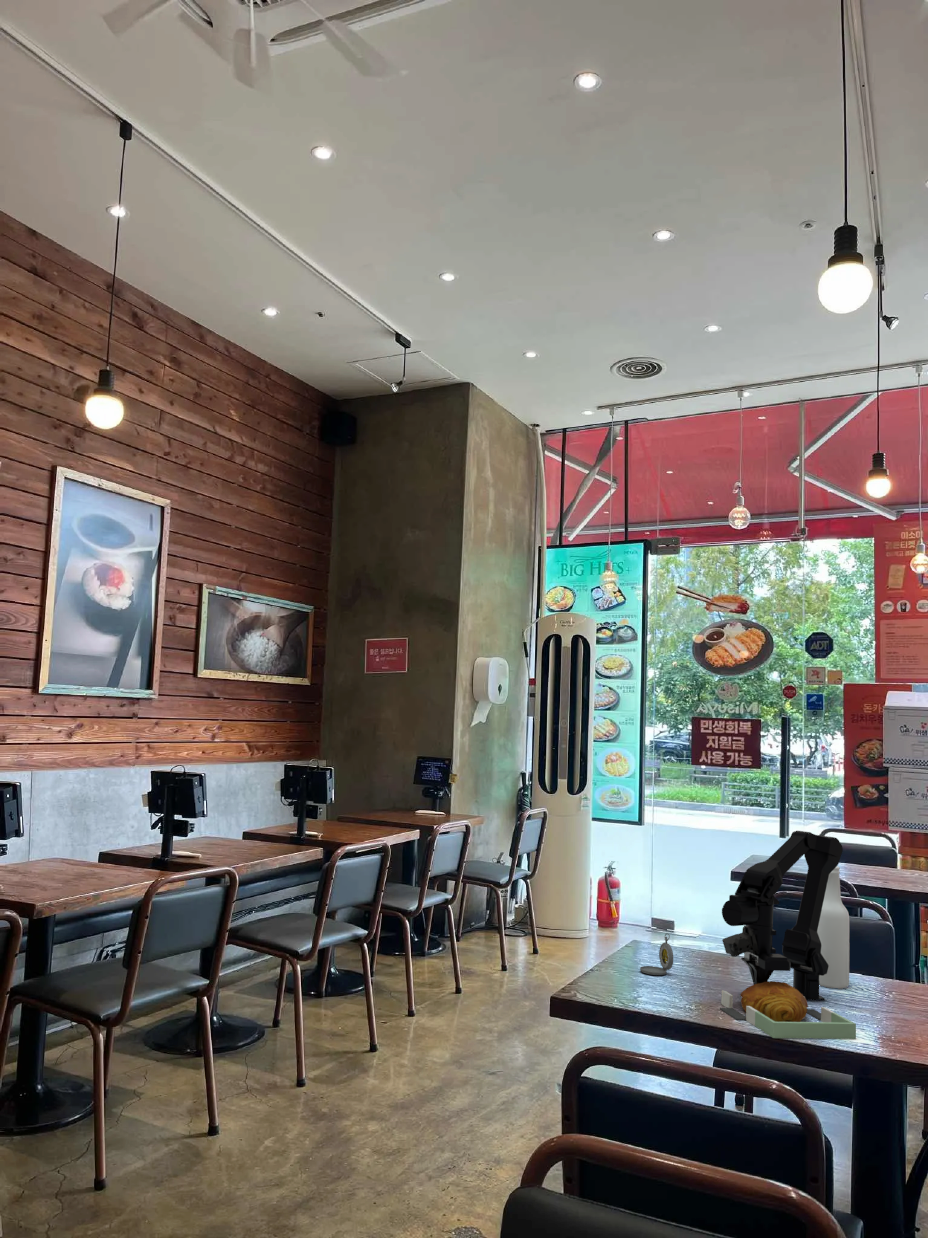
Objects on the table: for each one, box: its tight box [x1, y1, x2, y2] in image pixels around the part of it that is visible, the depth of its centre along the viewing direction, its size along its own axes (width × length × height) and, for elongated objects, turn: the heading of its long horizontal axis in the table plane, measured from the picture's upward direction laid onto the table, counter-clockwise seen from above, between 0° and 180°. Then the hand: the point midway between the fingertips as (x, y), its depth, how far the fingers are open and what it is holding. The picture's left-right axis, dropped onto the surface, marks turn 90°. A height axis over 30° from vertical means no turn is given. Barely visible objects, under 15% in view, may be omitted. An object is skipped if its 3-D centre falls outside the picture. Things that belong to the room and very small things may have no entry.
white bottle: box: [817, 865, 850, 990], centre depth 237 cm, size 9×9×30 cm
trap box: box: [719, 990, 857, 1040], centre depth 200 cm, size 24×23×3 cm
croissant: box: [739, 980, 809, 1022], centre depth 205 cm, size 14×16×8 cm
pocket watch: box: [639, 932, 674, 976], centre depth 236 cm, size 8×8×10 cm
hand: (758, 993), depth 212 cm, fingers closed
